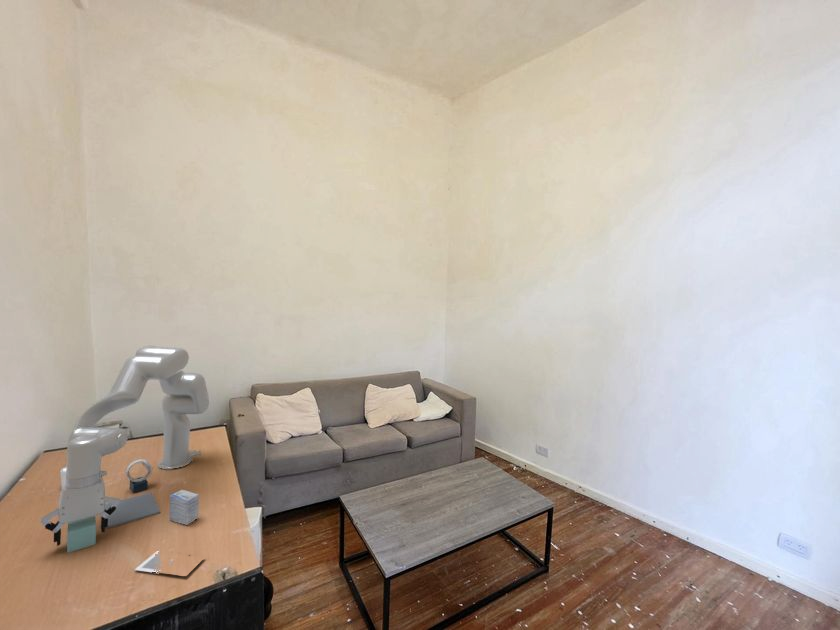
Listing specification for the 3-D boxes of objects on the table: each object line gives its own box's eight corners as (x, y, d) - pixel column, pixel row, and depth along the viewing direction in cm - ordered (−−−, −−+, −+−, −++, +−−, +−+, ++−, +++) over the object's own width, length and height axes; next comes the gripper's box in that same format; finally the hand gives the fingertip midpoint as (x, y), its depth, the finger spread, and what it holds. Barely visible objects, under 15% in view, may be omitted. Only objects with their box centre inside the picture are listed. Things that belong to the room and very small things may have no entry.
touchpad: (185, 581, 98) (186, 573, 98) (134, 573, 99) (134, 565, 99) (206, 561, 106) (206, 553, 106) (157, 554, 107) (157, 546, 107)
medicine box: (198, 519, 124) (199, 494, 123) (186, 526, 120) (187, 500, 119) (181, 513, 126) (182, 488, 126) (168, 520, 122) (169, 495, 122)
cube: (93, 534, 113) (94, 515, 113) (95, 544, 109) (96, 524, 109) (66, 542, 109) (67, 522, 109) (67, 553, 105) (68, 532, 105)
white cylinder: (72, 491, 135) (73, 472, 135) (54, 490, 135) (54, 471, 135) (89, 482, 142) (90, 464, 142) (72, 481, 142) (72, 463, 142)
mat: (151, 493, 137) (151, 492, 137) (160, 513, 126) (160, 511, 126) (102, 506, 127) (102, 504, 127) (106, 528, 116) (106, 526, 116)
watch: (153, 487, 141) (154, 459, 141) (127, 495, 135) (128, 465, 135) (149, 482, 145) (150, 454, 145) (123, 489, 139) (124, 460, 138)
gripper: (119, 467, 117) (117, 520, 118) (41, 483, 105) (39, 542, 105) (122, 475, 112) (120, 531, 112) (40, 493, 100) (38, 556, 100)
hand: (81, 536), depth 109 cm, fingers open, 9 cm apart
